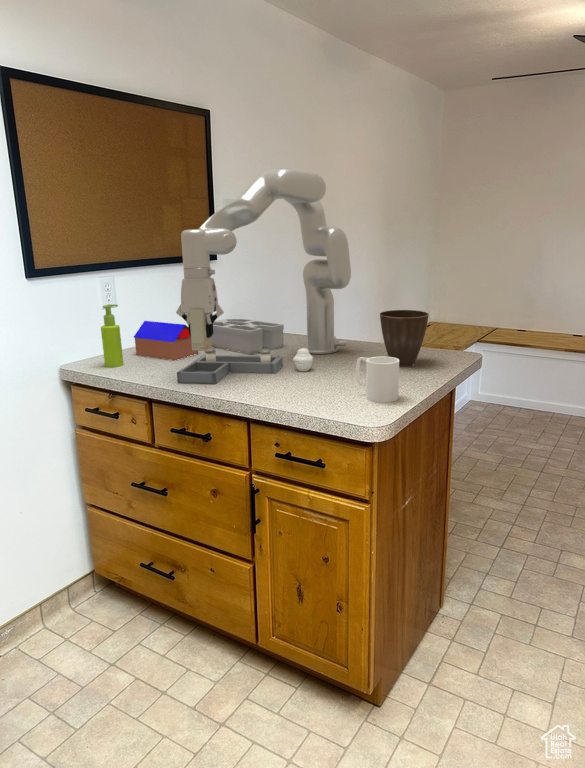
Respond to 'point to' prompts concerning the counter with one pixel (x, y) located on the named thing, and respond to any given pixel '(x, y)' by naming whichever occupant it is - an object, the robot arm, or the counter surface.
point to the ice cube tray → (247, 335)
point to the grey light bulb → (210, 354)
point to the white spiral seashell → (303, 360)
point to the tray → (203, 372)
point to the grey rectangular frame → (248, 363)
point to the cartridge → (265, 355)
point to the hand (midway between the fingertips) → (201, 336)
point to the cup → (380, 378)
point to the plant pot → (403, 334)
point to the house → (163, 340)
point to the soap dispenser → (111, 340)
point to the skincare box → (199, 330)
